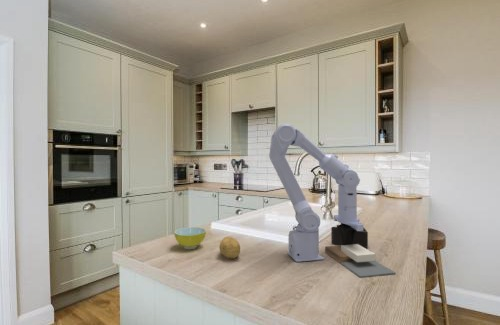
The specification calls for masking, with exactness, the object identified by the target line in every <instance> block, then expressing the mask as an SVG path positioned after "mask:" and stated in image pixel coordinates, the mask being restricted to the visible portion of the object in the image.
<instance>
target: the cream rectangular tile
mask: <svg viewBox="0 0 500 325" xmlns="http://www.w3.org/2000/svg"><path fill="white" fill-rule="evenodd" d="M341 252H342V253H344V254H345V255H347V256H348V257H350V258H351V259H353V260H354V261H356V262H366V261H376V255H377V254H376V253H375V252H372V251H370V250H369V249H366V248H364V247H362V246H360V245H358V244H353V245H341Z"/></svg>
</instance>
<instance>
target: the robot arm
mask: <svg viewBox="0 0 500 325" xmlns="http://www.w3.org/2000/svg"><path fill="white" fill-rule="evenodd" d="M274 130H275V131H274V132H273V134H272V136H271V138H270V146H269V147H270V148H269V153H268V156H269V160H270V162H271V163H272V165H273V168H274V170H275V172H276V174H277V176H278V179H279V180H280V182H281V184H282V187H283V188H284V190H285V192H286V194H287V197H288V198H289V200H290V202H291V204H292V207H293V210H294V211H295V212H294V213H295V216H294V217H295V221H297V225H296V228H295V229H294V230H290V231H289V232H288V252H287V254H288V255H289V257H291V258H292V259H293V261H295V262H297V263H300V262H308V261H309V262H310V261H312V262H313V261H323V260H324V259H325V258H324V256H322V255H321V254H319V253H320V252H319V251H320V250H319V249H320V247H319V243H320V242H319V235H320V234H319V232H320V231H319V227H320V225H321V218H320V216H319V214H317V213H316V212H315V211H314V210H313V209H312V207H311V205H310V204H309V202H308V200H307V199H306V196H305V194H304V193H303V190H302V189H301V187H300V184H299V182H298V181H297V178H296V176H295V174H294V173H293V172H294V171H293V170H292V168H291V166H290V165H289V162H288V160H287V158H286V154H287V153H288V152H287V151H288V149H289V147H290V146H294V147H298V148H301V149H302V150H303V151H305V152H306V153H307V154H308V155H310V156H311V157H312V158H314V159H315V160H317V161H318V166H319V168H320V169H321V170H322V171H323V172H325V173H326V174H327V175H328V176H330V177H331V178H332V179H333V180H335V182H336V184H337V185H338V186H337V187H338V189H337V190H338V192H337V197H338V198H337V200H338V202H337V209H338V210H337V211H338V212H337V213H338V214H334V215H333V221H334V222H338V223H340V224H337V225H336V227H337V228H338V230H339V232H340V235H341V238H342V242H343V245H352V243H353V240H354V237H355V235H356V233H357V231H363V227H364V224H363V223H361V222H360V218H358V215H357V214H358V208H357V206H358V204H357V201H358V200H357V195H358V194H357V187H358V186H359V184H360V181H361V178H359V175H358V173H357V172H356V171H354V170H353V169H350V166H349V165H348V164H344V163H343V162H342V161H341V160H339V159H338V158H339V156H338V155H336V154H332V153H325V152H324V151H323V150H322V149H321V148H320V147H318V145H316V144H315V143H314V142H313V141H312V140H310V139H309V137H307V136H306V135H305V134H304V133H303V132H301V130H299V129H298V128H295V127H294V126H293V125H292V124H290V123H283V124H280V125H279V126H278V127H277V128H276V129H274Z"/></svg>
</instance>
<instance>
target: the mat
mask: <svg viewBox="0 0 500 325" xmlns="http://www.w3.org/2000/svg"><path fill="white" fill-rule="evenodd" d="M340 265H342V267H344V268H346V269H347V270H349V271H350V272H351V273H353V274H354V275H355V276H357V277H359V278H360V279H361V278H370V277H371V278H372V277H380V276H381V277H382V276H389V275H396V274H397V273H396V271H394V270H392V269H391V268H389V267H387V266H385V265H383V264H381V263H380V262H378V261H376V260H375V261H366V262H356V261H351V262H341V263H340Z"/></svg>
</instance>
